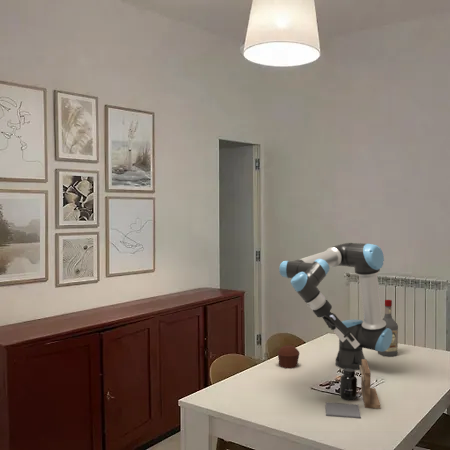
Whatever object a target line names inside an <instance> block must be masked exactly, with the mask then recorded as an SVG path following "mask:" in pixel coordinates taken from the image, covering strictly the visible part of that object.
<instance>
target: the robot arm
mask: <svg viewBox="0 0 450 450" xmlns="http://www.w3.org/2000/svg"><path fill="white" fill-rule="evenodd" d="M384 256H385V255H384V253H383V250H382V249H381V247H379V245H377V244H372V243H361V242H360V243H359V242H358V243H357V242H355V243H354V242H346V243H341V244H337V245H334V246H330V247H327V249H326V250H325V251H321V252H318V253H315V254H311V255H309V256H305V257H303V258H298V259H294V260H284V261H282V262H280V264H279V268H278V269H279V274H280V276H282V278H287V279H290V285H291V286H292V288H293V289H294V291H295V292H296V293H297V294H298V296H300V297H301V299H302V300H303V301H304V302H305V303H306V304H307V305H306V307H307V308H310V310H312V313H313V314H314V315H315V316H316V317H317V318H321V319H323V321H324V322H325V324H326V325H327V327H328V329H330V330H332V332H333V333H334V334H335V335H336V336H337V338H338V339H339V340H338V352H337V354H336V358H335V366H336V367H338V368H341V369H345V368H350V369H354V370H360V367H359V366H360V365H361V366H362V359H366V358H365V354H364V351H363V349H367V350H371V351H375V352H378V351H381V352H384V351H386V350H387V349H388V348H389V346H390V344H391V341H392V331H391V329H389V328H387V327H386V322H385V321H384V320H382V319H383V312H382V305H381V304H382V303H381V299H380V298H381V296H380V289H379V279H378V278H379V277H378V274H379V272H380V271H381V268H383V266H384V262H385V258H384ZM339 266H341V267H350V268H354V273H355V275H357V276H358V283H359V288H360V298H361V305H362V313H363V320H362V319H346V320H342V321H341V319H340V318H338V316H337V315H336V314H335V313H334V312H331V311H332V304H331V303H330V302H329V301H328V299H327V298H326V296H325V295H324V294H323V293H322V292H321V291H320V290H319V288H318V286H319V285H320V284H321V282H322V281H323V279H325V278H326V276H327V274H328V273H329V272H330V267H332V268H333V267H335V268H336V267H339Z"/></svg>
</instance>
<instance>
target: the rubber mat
mask: <svg viewBox="0 0 450 450" xmlns="http://www.w3.org/2000/svg"><path fill="white" fill-rule="evenodd" d="M325 416H326V417H338V418H339V417H340V418H351V419H361V418H362V415H361V411H360V406H359V404H356V403H343V402H330V401H329V402H327V401H326V402H325Z"/></svg>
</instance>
